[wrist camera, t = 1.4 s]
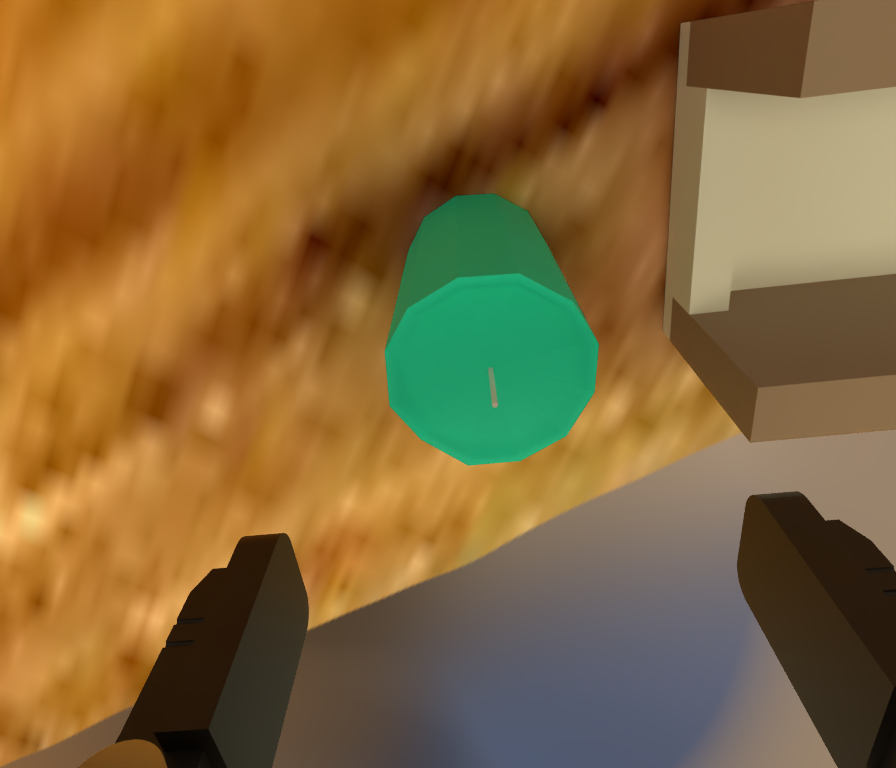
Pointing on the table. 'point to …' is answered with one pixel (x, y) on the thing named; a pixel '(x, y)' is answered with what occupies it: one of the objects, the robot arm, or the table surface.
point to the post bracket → (787, 216)
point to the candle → (487, 336)
